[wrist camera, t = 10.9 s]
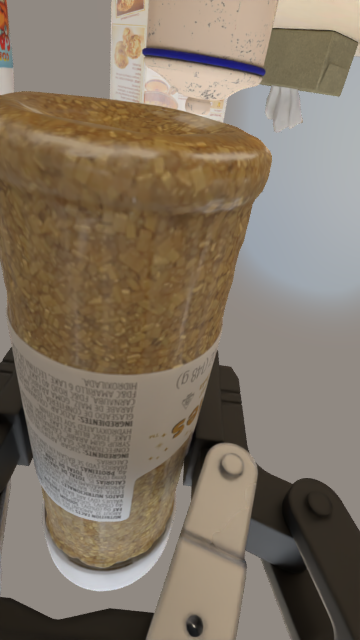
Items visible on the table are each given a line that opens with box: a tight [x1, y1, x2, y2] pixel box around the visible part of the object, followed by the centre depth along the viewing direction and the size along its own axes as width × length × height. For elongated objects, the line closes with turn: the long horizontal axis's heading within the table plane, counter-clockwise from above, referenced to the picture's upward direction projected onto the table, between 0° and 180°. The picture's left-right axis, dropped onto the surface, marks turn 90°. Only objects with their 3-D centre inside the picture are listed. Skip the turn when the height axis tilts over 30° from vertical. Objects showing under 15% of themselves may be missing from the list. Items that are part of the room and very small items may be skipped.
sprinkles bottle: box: [0, 91, 272, 591], centre depth 9 cm, size 5×5×14 cm
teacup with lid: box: [142, 0, 278, 115], centre depth 25 cm, size 12×9×12 cm
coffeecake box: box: [110, 0, 228, 123], centre depth 43 cm, size 15×7×20 cm, turn 46°
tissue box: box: [259, 28, 358, 132], centre depth 66 cm, size 19×10×16 cm, turn 137°
